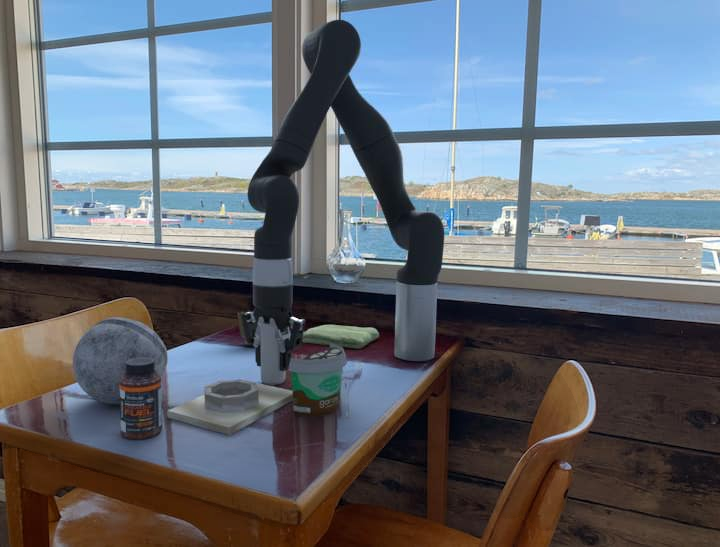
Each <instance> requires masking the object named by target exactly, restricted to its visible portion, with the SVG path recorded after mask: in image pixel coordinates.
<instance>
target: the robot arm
mask: <svg viewBox="0 0 720 547" xmlns="http://www.w3.org/2000/svg"><path fill="white" fill-rule="evenodd" d="M302 41H303V42H302V45H301V54H302V58H303V61H304V64H305V67H306V68H307V70H308V71H309V73H310V75H309V77H308V80H307V82H306V83H305V85H304V87H303V88H302V89H301V92H300V93H299V95H298V96H297V98H295V100H294V102H293V103H292V105H291V106H290V108H289V110H288V111H287V113H286V114H285V116H284V118H283V119H282V122H281V124H280V126H279V128H278V131H277V133H276V136H275V138H274V140H273V143H272V146H271V148H270V150H269V152H268V153H267V154H266V156H265V157H264V158H263V160H262V161H261V163H260V164H259V166H258V167H257V169H256V171H255V172H254V174H253V175H252V177H251V179H250V181H249V184H248V188H247V200H248V203H249V205H250V207H251V208H252V209H254V210H255V211H256V212H259V213H264V217H263V218H264V219H263V225H262V226H260V227H258V228H256V230H255V231H254V236H253V257H254V258H253V266H252V305H253V307H254V309H253V310H254V311H253V310H252V311H253V312H252V311H250V312H248V311H247V312H246V313H244V314H242V315H241V317H242V322H243V327H244V332H245V337H246V339H245V342H246V341H247V343H251V344H253V345H254V346H253V347H254V350H255V351H254V352H255V353H254V354H255V358H254V359H255V360H254V361H255V363H256V366H257V367H260V368H261V325H263V324H262V323H270V324H272V325H271V327H274V328H275V330H276V331H275V339H276V341H277V342H278V344H279V347H280V351H281V352H280V371H288V370H289V363H290V359H291V358H292V351H294V350H297V349H299V348H301V345H302V342H303V338H302V337H303V333H304V332H305V328H306V327H305V326H306V324H307V322H306V319H304V318H301V319H299V318H296V317H294V315H293V312H292V306H293V302H294V301H293V297H294V296H293V294H294V293H293V291H294V290H293V288H294V287H293V286H294V285H293V284H294V282H293V280H294V279H293V277H294V276H293V274H294V272H293V261H292V237H293V236H292V235H293V232H294V228H295V225H296V220H297V215H298V211H299V208H300V207H299V206H300V194H299V190H298V187H297V184H296V183H295V181H294V180H293V179H292V178H291V177H292V175H293V174H294V173H297V172H299V171H301V170H302V169H304V167H305V165H306V163H307V161H308V159H309V157H310V154H311V152H312V149H313V146H314V144H315V141H316V139H317V136H318V134H319V131H320V129H321V127H322V124H323V123H324V120H325V119H326V116H327V114H328V112H329V111H330V108H331V110H332V111H333V115H335V117H336V120H337V122H338V124H339V125H340V127H341V129H342V131H343V133H344V135H345V137H346V139H347V141H348V143H349V145H350V148H351V150H352V152H353V154H354V156H355V158H356V160H357V162H358V164H359V166H360V167H361V169H362V172H363V173H364V176H365V177H366V180H367V181H368V183H369V185H370V187H371V189H372V191H373V193H374V195H375V197H376V199H377V201H378V203H379V205H380V208H381V211H382V213H383V216H384V218H385V221H386V225H387V227H388V230H389V232H390V235H391V237H392V240H393V241H394V242H395V243H396V245H397V246H399V248H400V249H402V250H405V251H407V255H406V256H407V257H406V258H407V259H406V262H405V263H404V264H403V266H401V267H399V268H398V269H397V271H396V283H395V284H396V291H395V292H396V293H395V318H394V319H395V321H394V323H395V325H394V352H393V353H394V354H393V355H394V357H396V358H398V359H401V360H403V361H408V362H409V361H411V362H424V361H430V360H432V359H434V358H435V356H436V354H435V352H436V351H435V350H436V333H437V332H436V330H437V329H436V328H437V303H438V301H437V299H438V279H439V275H440V273H441V270H442V266H443V256H444V247H445V246H444V245H445V228H444V227H445V226H444V223H443V220H442V218H441V217H440V216H439V215H438V214H437V213H436V212H432V211H428V210H427V211H426V210H418V209H417V208H416V206H415V205H414V203H413V201H412V199H411V198H410V196H409V193H408V191H407V188H406V184H405V180H404V162H403V160H404V159H403V154H402V150H401V147H400V144H399V143H398V140H397V138H396V136H395V134H394V132H393V129H392V128H391V126H390V124H389V123H388V121H387V120H386V119H385V117H384V116H383V115H382V114H381V113H380V112H379V111H378V110H377V108H375V107H374V106H373V105H372V104H371V103H370V102H369V101H368V100H367V99H366V98H365V97H363V95H362V94H361V93H360V92H359V90H358V89H357V88H356V85H355V83H354V81H353V80H352V78H351V75H350V73H351V72H352V70H353V68H354V67H355V65H356V64H357V62H358V60H359V58H360V54H361V51H362V50H361V48H362V42H361V38H360V34H359V32H358V30H357V29H356V27H355V26H354V25H353V24H352V23H351V22H349V21H348V20H347V21H346V20H343V19H334V20H330V21H327V22H325V23H324V24H322V25H320V26H319V27H318V28H316V29H314V30H312V31H311V32H309V33H308V34H307V35H305V37H304V39H303V40H302ZM255 321H256V322H257V323H258V326H257V327H256V322H255ZM289 326H290V327H289ZM290 329H291V330H290ZM285 330H286V333H285V335H283V336H282V335H281V333H282V332H285ZM251 333H252V335H251ZM284 340H285V341H284Z"/></svg>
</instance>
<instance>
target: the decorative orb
mask: <svg viewBox="0 0 720 547" xmlns="http://www.w3.org/2000/svg"><path fill="white" fill-rule="evenodd" d="M141 357H145V358H152V359H153V360H154V366H155V368H154V370H155V371H156V372H158V373H159V374H160V376H161V379H162V378H163V376H164V374H165V370H166V366H167V364H168V350H167V348H166V344H165V343H164V341H163V340H162V339H161V337H159V335H158V334H157V333H156V331H155V330H153V329H152V328H151V327H150V326H148V325H146V324H145V323H142V322H141V321H138V320H135V319H132V318H126V317H120V316H119V317H118V316H117V317H116V316H115V317H108V318H104V319H103V320H100V321H98V322H97V323H95V325H94V326H92V327H90V328H89V329H88V330H87V331H86V332H85V333H84V334H83V335H82V336H81V338H80V339H79V340H78V343H77V344H76V347H75V350H74V352H73V356H72V371H73V375H74V378H75V380H76V383H77V384H78V385H79V387H80V388H81V389H82V391H83V392H85V393H86V394H87V396H89V397H90V398H93V399H94V400H96V401H98V402H101V403H104V404H108V405H120V393H119V381H120V378H121V377H122V376H123V375H124V374H126V372H127V371H126V362H127V361H128V360H130V359H134V358H141Z"/></svg>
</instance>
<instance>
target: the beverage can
mask: <svg viewBox="0 0 720 547" xmlns="http://www.w3.org/2000/svg"><path fill="white" fill-rule="evenodd" d="M262 324H263V325H261V367H260V380H261V382H262V384H264V385H268V386H274V385H275V386H277V385H281V384H283V383H284V382H285V381H286V371H287V370H286V371H280V352H281V351H280V347H279V344H278V342H277V341H276V339H275V331H276V330H275V328H274V327H271V325H272V324H270V323H262ZM285 333H286V330H285V332H282V333H281V335H282V336H283V335H285ZM284 341H285V340H284Z"/></svg>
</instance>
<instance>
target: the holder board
mask: <svg viewBox="0 0 720 547" xmlns="http://www.w3.org/2000/svg"><path fill="white" fill-rule="evenodd" d="M203 390H204V394H203V395H200V396H198V397H196V398H194V399H191V400H188V401H187V402H184V403H182V404H180V405H177V406H175V407H172V408H170V409H168V410H167V419H171V420H175V421H178V422H181V423H186V424H189V425H193V426H197V427H200V428H202V429H207V430H211V431H213V432H218V433H220V434H225V435H228V436H231V435H232V434H234V433H236V432H238V431H239V430H240V431H241V429H243V428H245V427H246V426H247V427H248V426H249V425H251V424H252V423H255V422H256V421H258V420H260V419H262V418H263V417H265V416H267V415H268V414H270V413H272V412H274V411H277V410H278V409H280V408H282V407H283V406H285V405H287V404H289V403H291V402H293V392H292V390H291V389H286V388H281V387H276V386H274V385H267V384H264V383H259V382H254V381H249V380H245V379H240V378H239V379H228V380H226V379H225V380H218V381H216V382H215V381H214V382H213V383H211V384H209V385H206V386H204V388H203Z"/></svg>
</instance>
